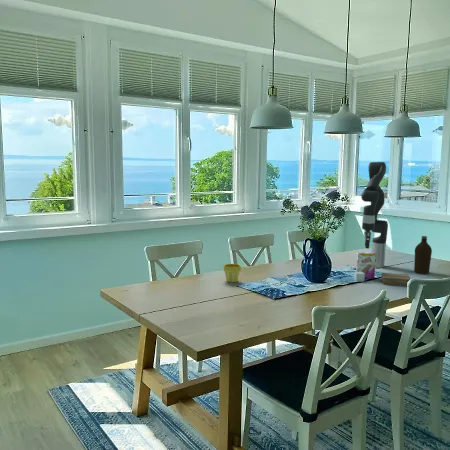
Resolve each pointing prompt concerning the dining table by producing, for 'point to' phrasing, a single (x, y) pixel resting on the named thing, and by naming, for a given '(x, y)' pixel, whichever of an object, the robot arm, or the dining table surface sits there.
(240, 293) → the dining table surface
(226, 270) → the plant pot
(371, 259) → the candy bar box
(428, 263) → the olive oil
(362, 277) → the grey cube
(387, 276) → the walnut plinth
